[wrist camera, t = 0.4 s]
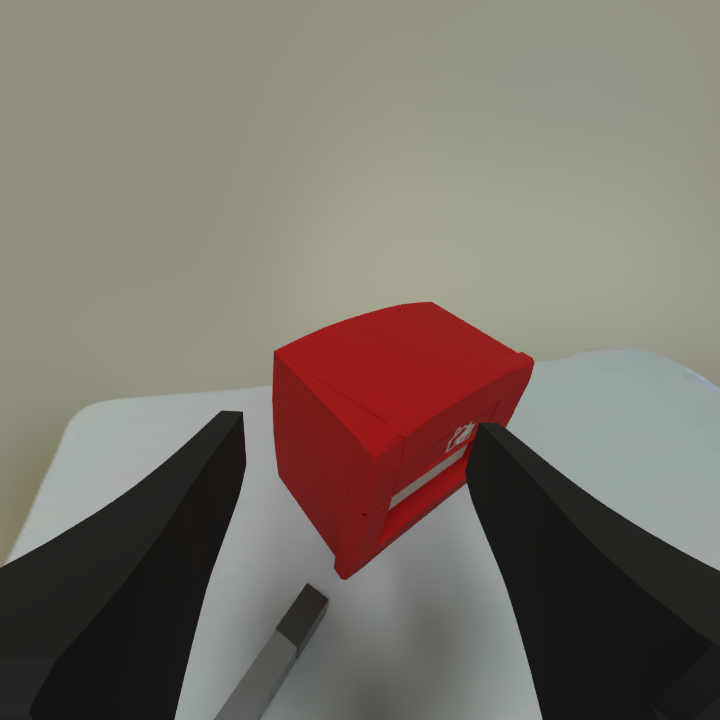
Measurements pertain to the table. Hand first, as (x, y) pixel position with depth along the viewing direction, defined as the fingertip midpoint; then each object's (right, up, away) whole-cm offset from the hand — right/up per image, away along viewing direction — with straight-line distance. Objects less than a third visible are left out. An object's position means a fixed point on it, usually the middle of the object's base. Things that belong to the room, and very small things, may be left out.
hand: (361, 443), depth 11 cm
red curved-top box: (+2, -9, +23) cm, 24 cm away
